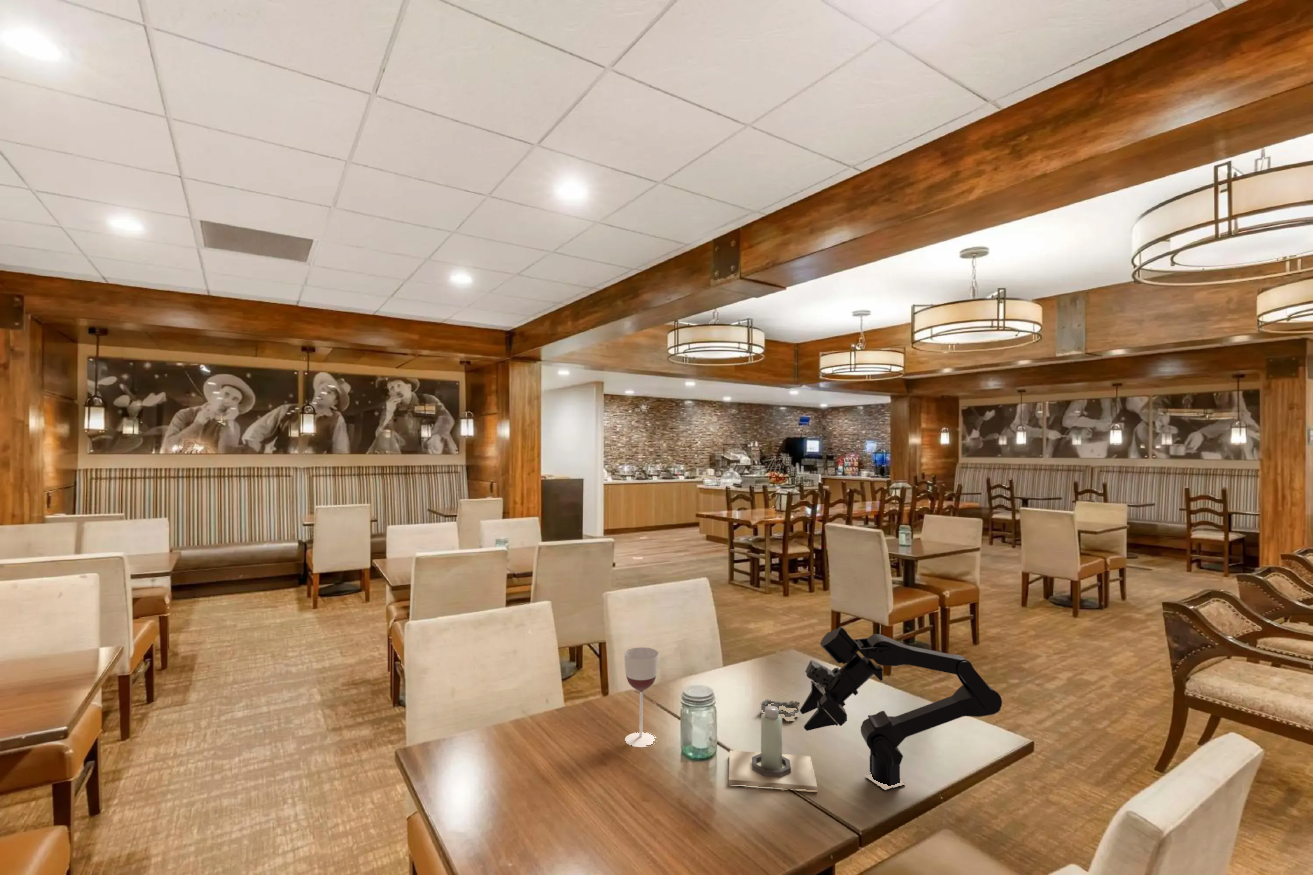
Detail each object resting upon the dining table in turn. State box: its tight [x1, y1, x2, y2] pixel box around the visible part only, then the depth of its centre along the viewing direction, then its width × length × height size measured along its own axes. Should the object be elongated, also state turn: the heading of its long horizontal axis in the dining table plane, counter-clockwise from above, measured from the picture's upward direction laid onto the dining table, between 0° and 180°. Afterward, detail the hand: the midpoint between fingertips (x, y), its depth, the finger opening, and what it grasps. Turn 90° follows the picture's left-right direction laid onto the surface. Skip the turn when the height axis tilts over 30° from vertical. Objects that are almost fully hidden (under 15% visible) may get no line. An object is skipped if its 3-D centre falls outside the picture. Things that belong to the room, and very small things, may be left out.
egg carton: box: [759, 698, 801, 717], centre depth 178 cm, size 11×8×4 cm
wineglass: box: [624, 646, 659, 748], centre depth 162 cm, size 9×10×23 cm
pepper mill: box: [760, 706, 783, 770], centre depth 145 cm, size 5×5×14 cm
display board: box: [728, 750, 818, 791], centre depth 144 cm, size 20×14×3 cm
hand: (802, 720), depth 144 cm, fingers open, 9 cm apart
